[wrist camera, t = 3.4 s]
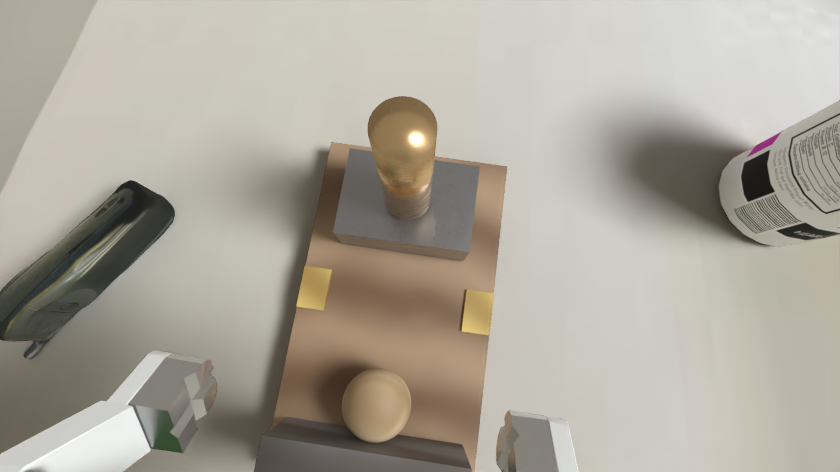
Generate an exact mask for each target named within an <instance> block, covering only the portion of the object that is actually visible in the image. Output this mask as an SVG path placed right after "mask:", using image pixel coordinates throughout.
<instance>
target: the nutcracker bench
mask: <svg viewBox="0 0 840 472" xmlns="http://www.w3.org/2000/svg"><path fill="white" fill-rule="evenodd" d="M350 148H352V149H359V150H366V151H372V148H370V147H363V146H356V145H348V144H341V143H334V142H331V146H330V151H329V156H328V161H327V165H326V170H325V175H324V180H323V184H322V189H321V194H320V199H319V203H318V208H317V213H316V218H315V223H314V227H313V232H312V237H311V242H310V246H309V251H308V256H307V261H306V266H304V271H303V276H302V281H301V286H300V290H299V295H298V300H297V305H296V306H297V309H296V313H295V318H294V323H293V328H292V332H291V337H290V342H289V347H288V351H287V356H286V361H285V366H284V371H283V375H282V380H281V385H280V390H279V394H278V399H277V404H276V409H275V414H274V418H273V423H272V428H271V429H270V430H269V431H267V432H266V433H265V434H263V435H262V436H261V441H260V445H259V450H258V455H257V459H256V464H255V469H254V472H474V470H475V461H476V452H477V442H478V433H479V424H480V414H481V405H482V396H483V386H484V377H485V368H486V359H487V349H488V340H489V335H490V326H491V316H492V307H493V298H494V284H495V275H496V266H497V256H498V247H499V238H500V228H501V219H502V210H503V200H504V191H505V182H506V173H507V167H506V166H499V165H492V164H485V163H478V162H470V161H463V160H456V159H449V158H442V157H435V158H434V160H438V161H445V162H452V163H459V164H467V165H474V166H480V171H479V179H478V187H477V195H476V203H475V211H474V220H473V228H472V236H471V244H470V252H469V254H468V255H467V257H466V258H465V260H464V261H458V260H451V259H444V258H437V257H430V256H423V255H417V254H410V253H403V252H396V251H389V250H382V249H375V248H369V247H362V246H355V245H348V244H343V243H342V242H341V241H340V240H339V239H338V238H337V236H336V235H335V234H334V233H333V230H334V225H335V220H336V215H337V210H338V205H339V200H340V195H341V190H342V184H343V179H344V174H345V169H346V164H347V159H348V154H349V149H350Z"/></svg>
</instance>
